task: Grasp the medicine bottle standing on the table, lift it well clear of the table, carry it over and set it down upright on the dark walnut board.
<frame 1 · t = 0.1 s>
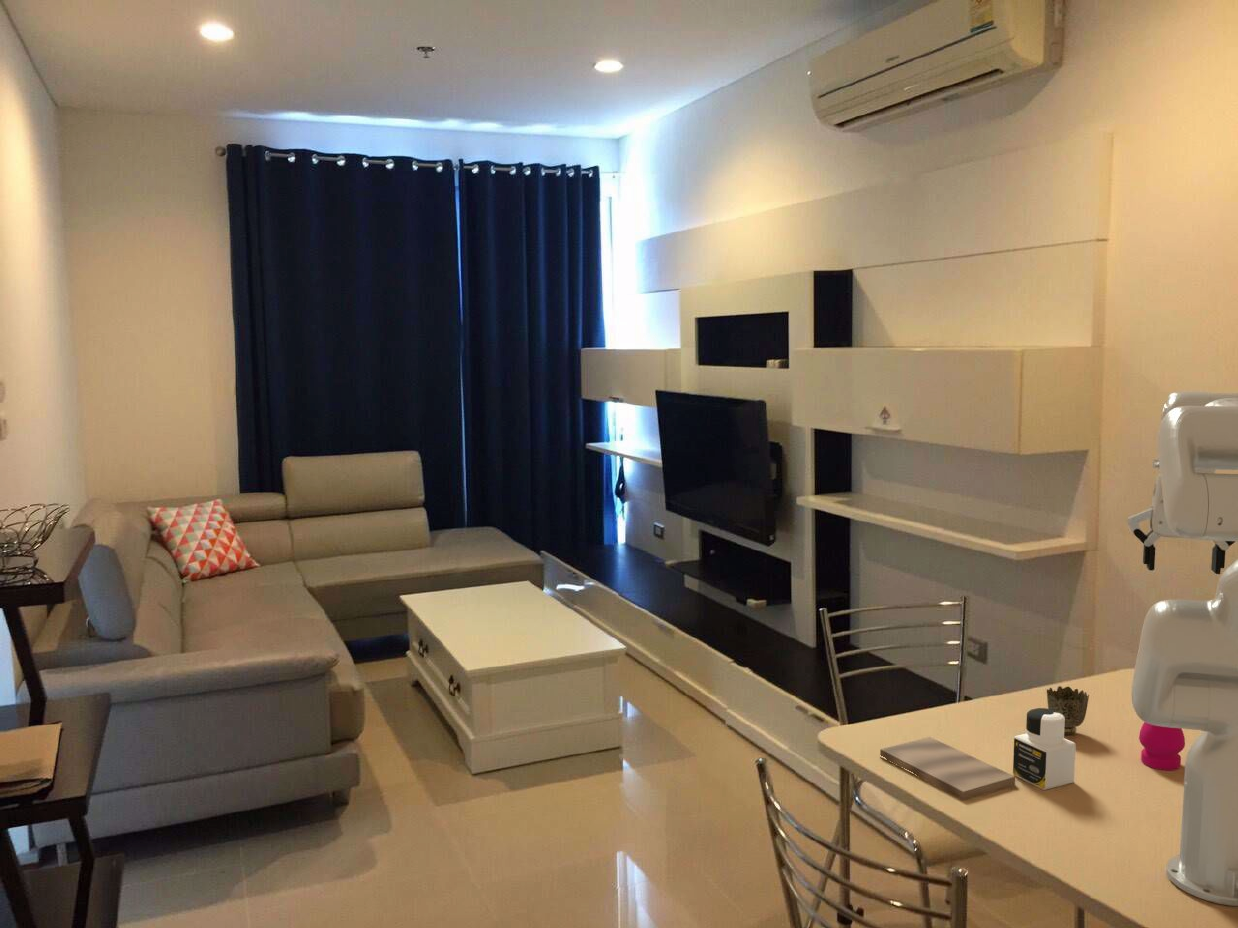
hand: (1182, 570, 170), 37 cm above the table, tool pointing down, fingers open, 9 cm apart
pepper mill: (1160, 764, 184), on the table
medicine bottle: (1043, 779, 178), on the table
walnut board: (945, 770, 182), on the table
cup: (1065, 733, 199), on the table
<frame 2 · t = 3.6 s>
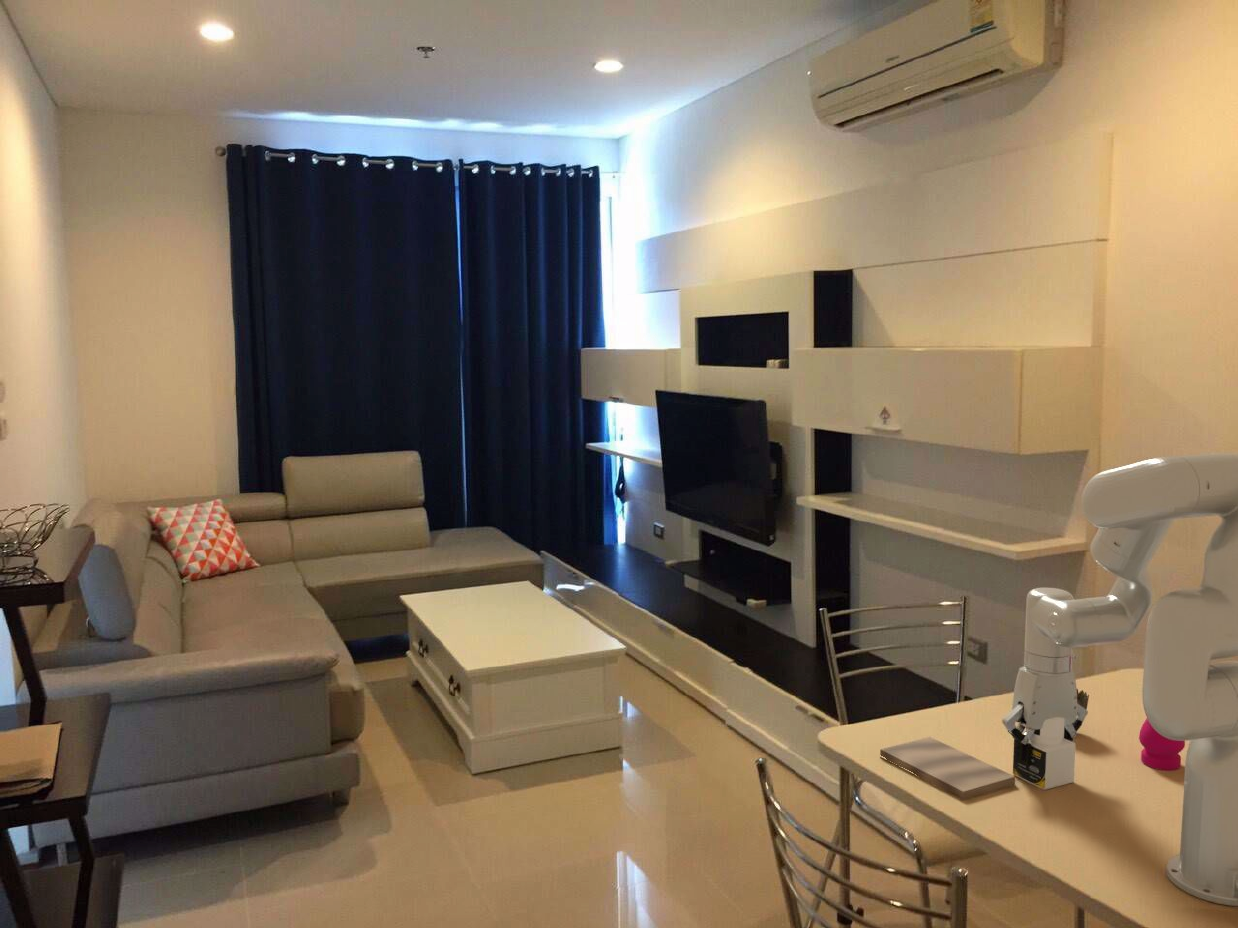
hand: (1043, 759, 178), 3 cm above the table, tool pointing down, fingers closed on medicine bottle, 7 cm apart
medicine bottle: (1042, 779, 178), on the table, touching gripper
everything else where it was.
when the fingers open (6 cm above the table, at t = 10.3 s): medicine bottle drops 1 cm, resting on walnut board.
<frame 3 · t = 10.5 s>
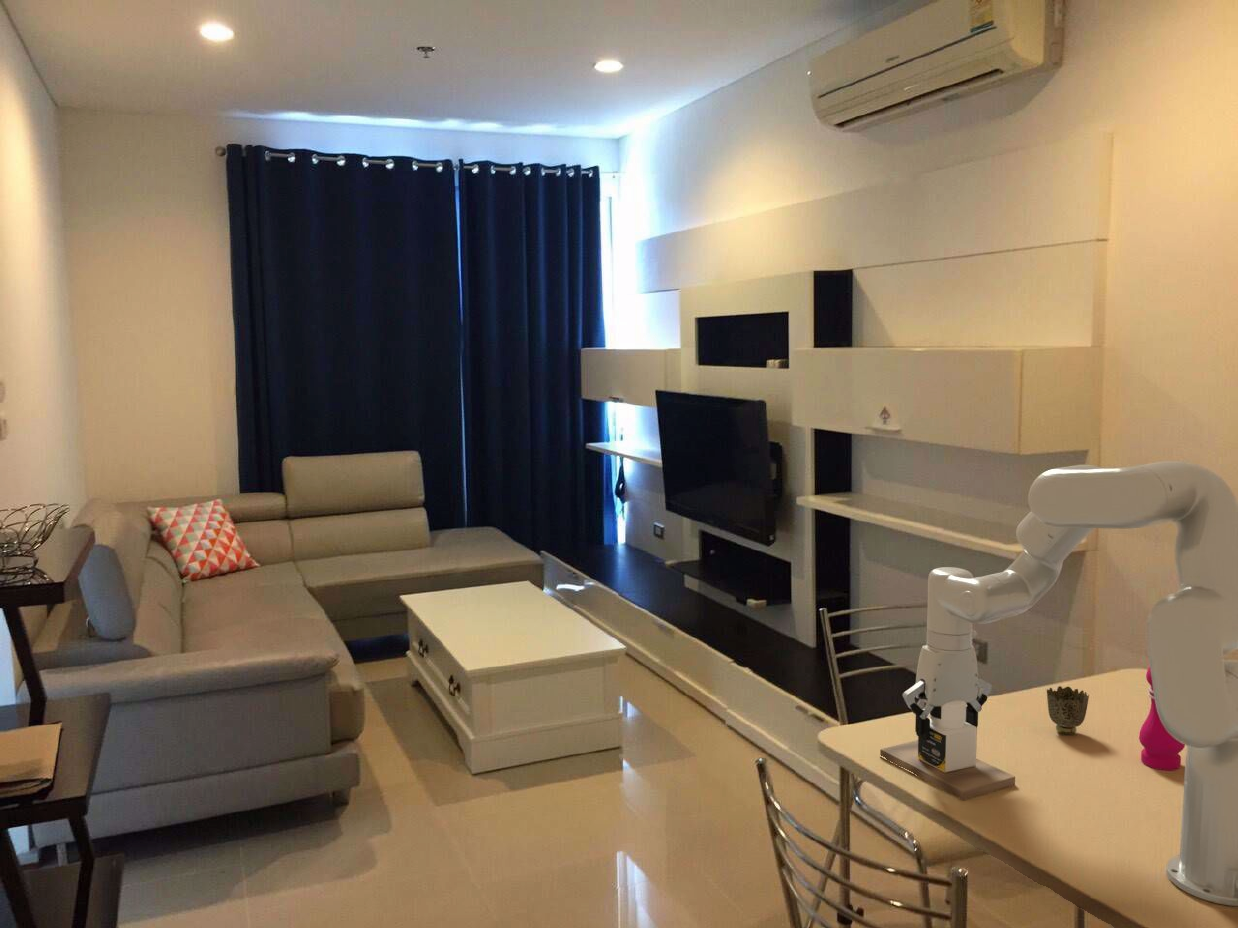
hand: (946, 734, 181), 7 cm above the table, tool pointing down, fingers open, 9 cm apart
medicine bottle: (946, 763, 182), point 1 cm above the table, touching walnut board
everything else where it was.
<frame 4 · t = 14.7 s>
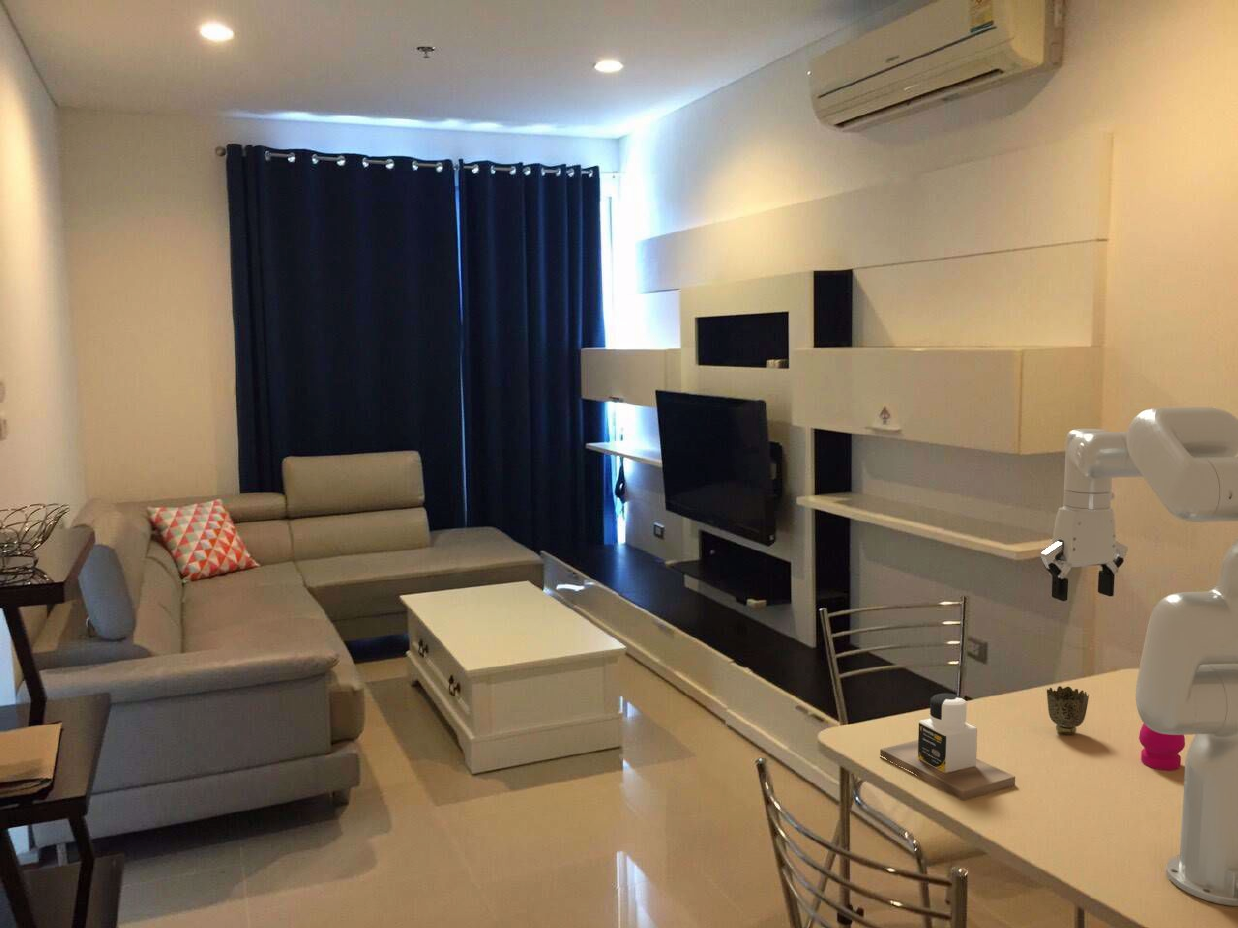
hand: (1082, 596, 181), 30 cm above the table, tool pointing down, fingers open, 9 cm apart
nothing on the table moved.
at the end: medicine bottle inside the target area on the walnut board (0.2 cm from its centre), point 1.3 cm above the walnut board's base; medicine bottle tilted 0°; the gripper is holding nothing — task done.
